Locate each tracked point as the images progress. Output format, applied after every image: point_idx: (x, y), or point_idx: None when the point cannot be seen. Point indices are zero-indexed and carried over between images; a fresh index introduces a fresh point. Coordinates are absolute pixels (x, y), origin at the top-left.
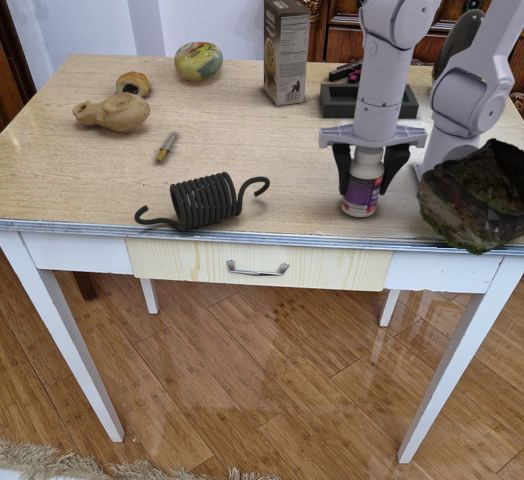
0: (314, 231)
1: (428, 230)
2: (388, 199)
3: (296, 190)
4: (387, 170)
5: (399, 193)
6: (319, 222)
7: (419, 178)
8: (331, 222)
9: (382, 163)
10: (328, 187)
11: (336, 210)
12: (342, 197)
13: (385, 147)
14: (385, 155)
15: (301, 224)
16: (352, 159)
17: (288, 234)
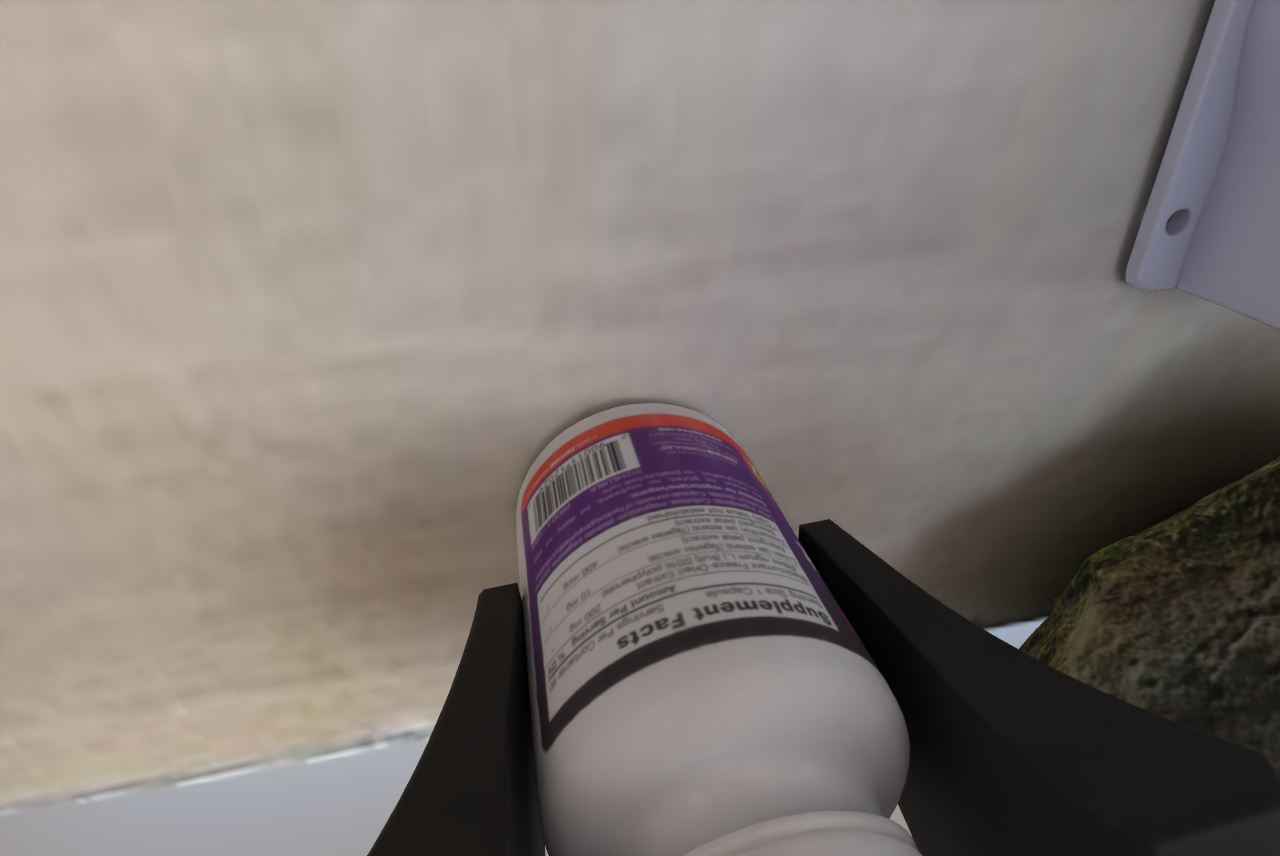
0: (377, 721)
1: (980, 580)
2: (861, 355)
3: (63, 359)
4: (911, 805)
5: (964, 264)
6: (390, 657)
7: (1216, 63)
8: (466, 641)
9: (899, 793)
10: (372, 262)
11: (485, 538)
12: (518, 560)
13: (1033, 771)
14: (976, 757)
15: (279, 696)
16: (592, 841)
17: (229, 773)
